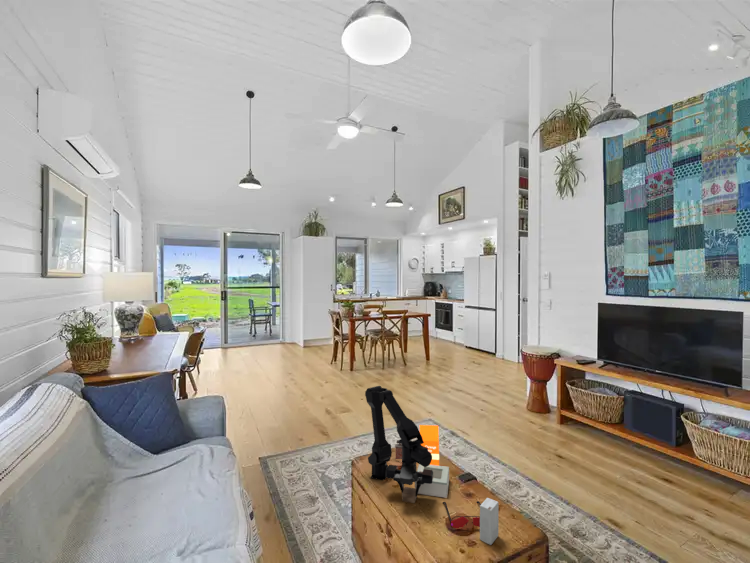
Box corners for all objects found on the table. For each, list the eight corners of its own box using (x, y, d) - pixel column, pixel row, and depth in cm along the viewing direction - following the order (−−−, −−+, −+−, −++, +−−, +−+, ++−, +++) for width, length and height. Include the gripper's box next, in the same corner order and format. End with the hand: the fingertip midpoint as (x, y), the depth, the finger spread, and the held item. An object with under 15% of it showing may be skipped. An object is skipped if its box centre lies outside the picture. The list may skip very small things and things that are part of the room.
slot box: (414, 493, 152) (414, 478, 151) (419, 476, 164) (419, 463, 164) (447, 497, 148) (446, 483, 148) (449, 480, 161) (449, 466, 161)
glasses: (451, 532, 129) (450, 518, 129) (442, 503, 145) (442, 490, 145) (490, 531, 129) (490, 517, 129) (477, 502, 145) (477, 490, 145)
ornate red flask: (412, 459, 180) (411, 438, 180) (412, 462, 177) (411, 441, 176) (395, 458, 181) (395, 438, 181) (395, 462, 177) (394, 441, 177)
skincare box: (486, 530, 129) (486, 496, 129) (499, 536, 126) (499, 501, 126) (479, 540, 124) (478, 504, 124) (491, 546, 121) (491, 510, 121)
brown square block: (402, 500, 147) (401, 493, 147) (405, 493, 151) (404, 486, 151) (414, 503, 145) (414, 495, 145) (417, 495, 150) (416, 488, 150)
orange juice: (420, 463, 176) (419, 421, 176) (438, 464, 175) (438, 422, 174) (419, 471, 168) (419, 428, 168) (439, 473, 167) (438, 429, 167)
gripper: (381, 463, 143) (382, 503, 143) (430, 469, 138) (430, 510, 138) (388, 450, 154) (388, 487, 154) (433, 455, 149) (433, 493, 149)
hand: (409, 494), depth 149 cm, fingers closed on brown square block, 5 cm apart
